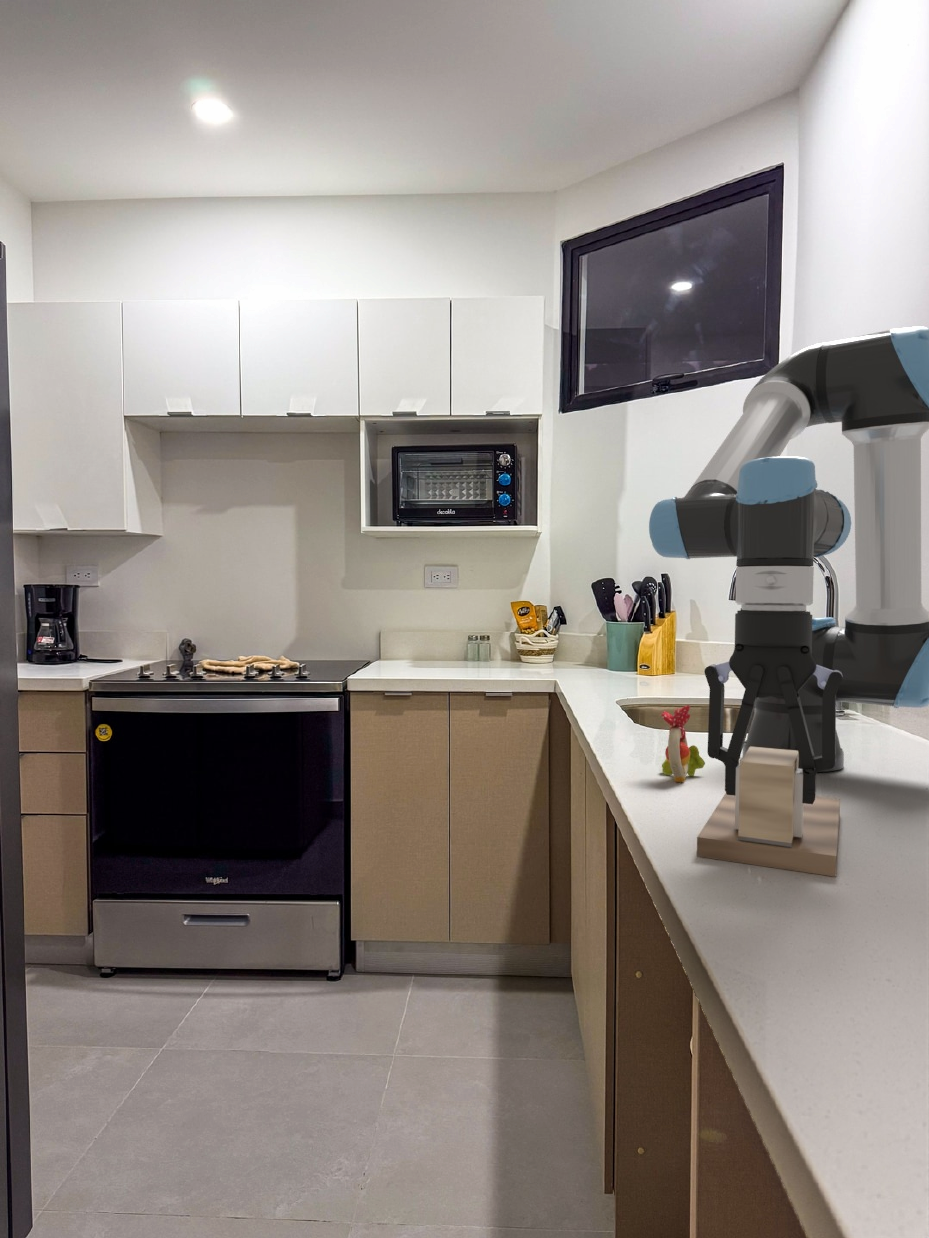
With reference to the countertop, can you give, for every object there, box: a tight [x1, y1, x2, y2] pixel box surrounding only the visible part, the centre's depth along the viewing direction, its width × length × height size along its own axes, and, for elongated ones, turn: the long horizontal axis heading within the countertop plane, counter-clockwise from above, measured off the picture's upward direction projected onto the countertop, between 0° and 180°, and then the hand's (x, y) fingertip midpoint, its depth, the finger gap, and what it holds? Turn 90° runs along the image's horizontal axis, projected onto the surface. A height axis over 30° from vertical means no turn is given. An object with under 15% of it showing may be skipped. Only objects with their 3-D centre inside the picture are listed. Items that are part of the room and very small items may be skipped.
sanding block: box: [738, 747, 799, 847], centre depth 84 cm, size 9×5×8 cm, turn 154°
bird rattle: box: [660, 704, 706, 783], centre depth 117 cm, size 6×11×9 cm
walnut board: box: [696, 792, 841, 878], centre depth 90 cm, size 24×13×2 cm, turn 154°
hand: (768, 829), depth 84 cm, fingers closed on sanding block, 5 cm apart
